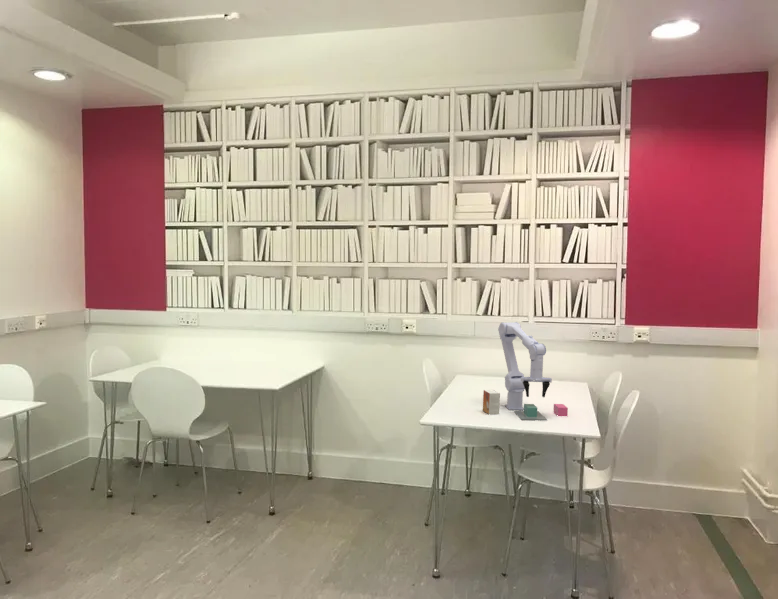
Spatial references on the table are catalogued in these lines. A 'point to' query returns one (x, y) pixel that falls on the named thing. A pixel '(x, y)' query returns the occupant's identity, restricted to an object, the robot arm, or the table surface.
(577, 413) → the table surface
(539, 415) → the baseplate
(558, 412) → the raspberry brick
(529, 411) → the teal brick
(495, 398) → the small box
